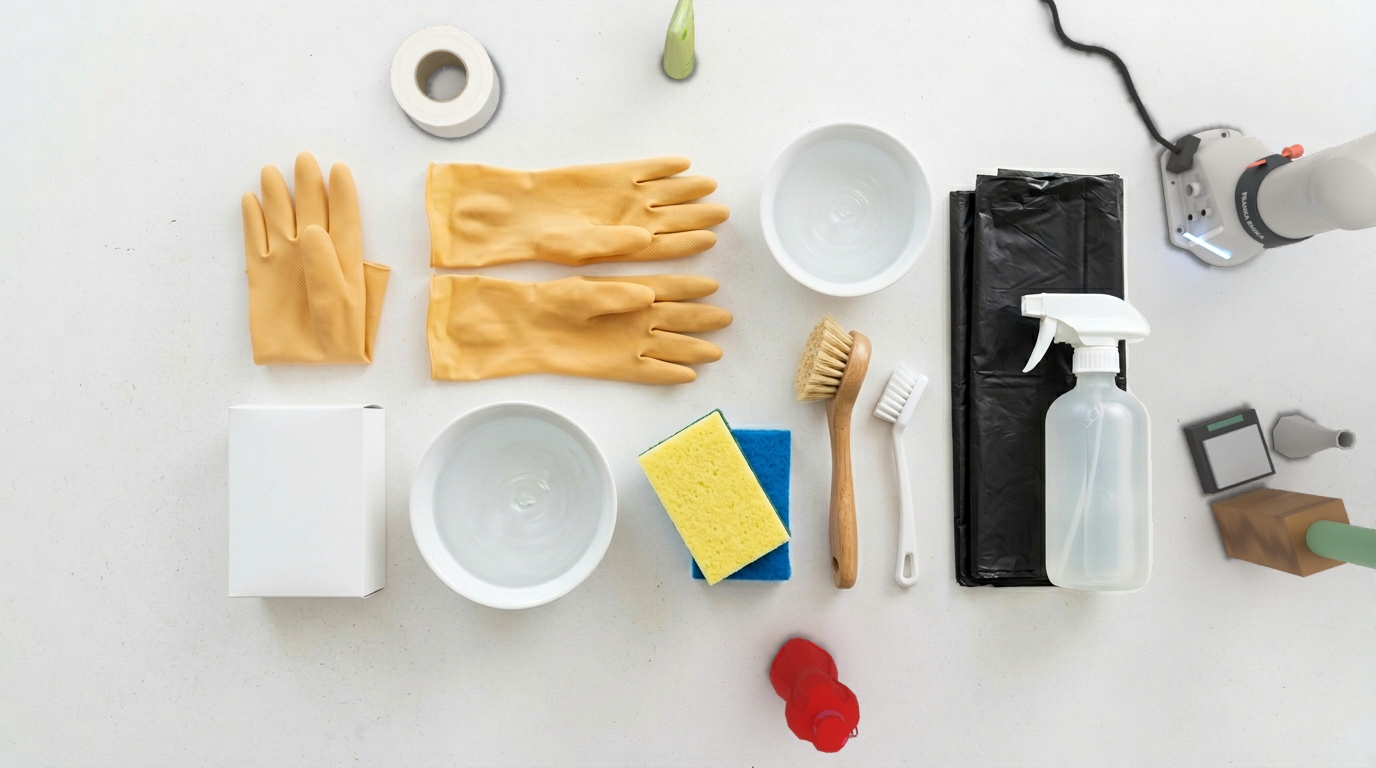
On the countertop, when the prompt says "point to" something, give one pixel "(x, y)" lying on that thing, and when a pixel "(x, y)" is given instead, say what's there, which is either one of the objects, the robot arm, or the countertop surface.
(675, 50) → the tube
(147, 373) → the countertop surface
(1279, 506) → the brown wooden block
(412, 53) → the tape roll
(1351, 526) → the green bottle
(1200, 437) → the scale
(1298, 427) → the flask
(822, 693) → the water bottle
